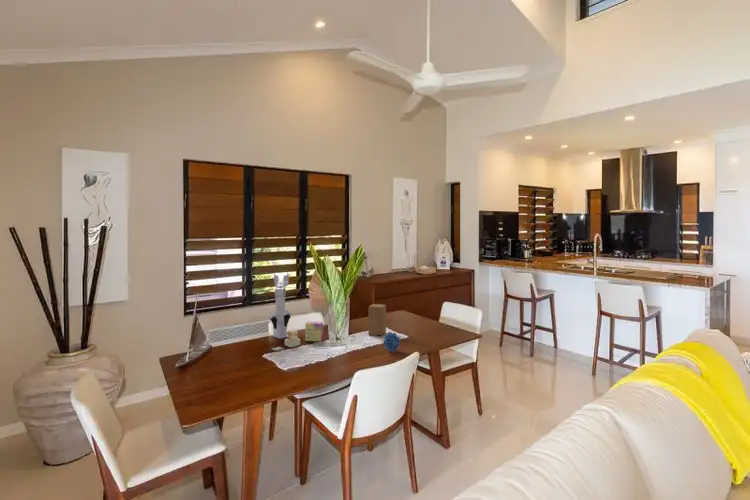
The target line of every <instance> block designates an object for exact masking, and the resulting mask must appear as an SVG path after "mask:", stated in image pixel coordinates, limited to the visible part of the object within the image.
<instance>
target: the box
mask: <svg viewBox="0 0 750 500" xmlns="http://www.w3.org/2000/svg"><path fill="white" fill-rule="evenodd" d="M304 331H305V333H304V334H305V338H304V339H305V342H306V341H307V342H323V340H324V339H323V338H324V335H323V334H324V333H323V332H324V322H323V321H310V320H309V321H306V322H305V330H304Z"/></svg>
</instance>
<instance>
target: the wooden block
mask: <svg viewBox="0 0 750 500" xmlns="http://www.w3.org/2000/svg"><path fill="white" fill-rule="evenodd" d="M385 332H387V305H386V304H381V303H380V304H379V303H372V304H370V305H369V306H368V331H367V333H368V336H374V335H383V334H384V333H385ZM385 334H386V333H385ZM385 334H384V335H385ZM384 335H383V336H384Z"/></svg>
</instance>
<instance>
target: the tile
mask: <svg viewBox="0 0 750 500" xmlns="http://www.w3.org/2000/svg"><path fill="white" fill-rule="evenodd" d="M270 350H272V351H274V352H280V351H284V350H286V348H284V347H282V346H277V347H272V348H270Z"/></svg>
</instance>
